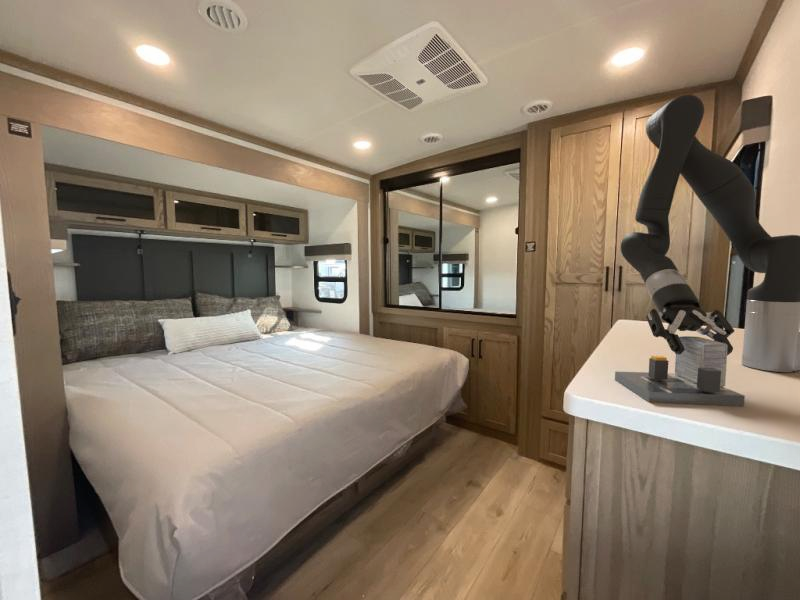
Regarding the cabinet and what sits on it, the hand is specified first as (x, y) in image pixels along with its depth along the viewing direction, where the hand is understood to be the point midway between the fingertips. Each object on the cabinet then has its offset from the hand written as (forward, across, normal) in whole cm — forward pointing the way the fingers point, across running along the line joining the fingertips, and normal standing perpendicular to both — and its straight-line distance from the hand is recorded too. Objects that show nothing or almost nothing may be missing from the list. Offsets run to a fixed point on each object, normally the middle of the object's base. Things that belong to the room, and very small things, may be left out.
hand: (704, 353), depth 67 cm
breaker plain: (+8, -3, +1) cm, 8 cm away
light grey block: (+4, 0, +6) cm, 7 cm away
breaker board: (+6, -6, +6) cm, 10 cm away
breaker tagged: (+3, -8, +5) cm, 10 cm away
